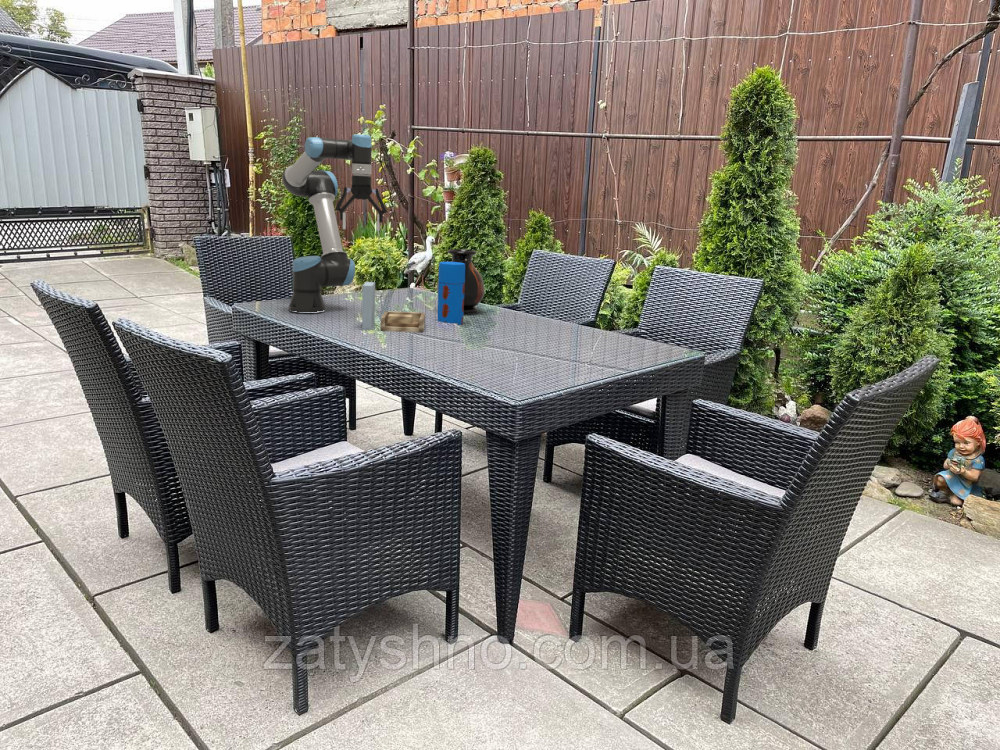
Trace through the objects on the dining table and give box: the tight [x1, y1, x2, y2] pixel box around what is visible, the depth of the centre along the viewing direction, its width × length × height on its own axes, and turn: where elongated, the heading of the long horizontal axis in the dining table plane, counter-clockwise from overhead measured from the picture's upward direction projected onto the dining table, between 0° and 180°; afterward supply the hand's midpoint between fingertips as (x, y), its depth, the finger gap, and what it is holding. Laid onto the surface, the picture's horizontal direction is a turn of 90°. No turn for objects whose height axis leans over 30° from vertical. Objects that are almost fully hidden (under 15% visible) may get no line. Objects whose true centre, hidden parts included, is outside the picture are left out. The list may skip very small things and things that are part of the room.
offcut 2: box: [387, 321, 419, 328], centre depth 288 cm, size 12×5×3 cm, turn 93°
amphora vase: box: [436, 248, 485, 315], centre depth 336 cm, size 22×22×28 cm
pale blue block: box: [361, 281, 376, 330], centre depth 288 cm, size 11×4×17 cm, turn 3°
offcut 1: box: [388, 314, 413, 324], centre depth 287 cm, size 9×5×3 cm, turn 93°
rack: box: [380, 310, 426, 333], centre depth 290 cm, size 16×15×6 cm
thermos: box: [437, 261, 465, 326], centre depth 309 cm, size 11×11×25 cm
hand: (361, 230), depth 299 cm, fingers open, 13 cm apart
